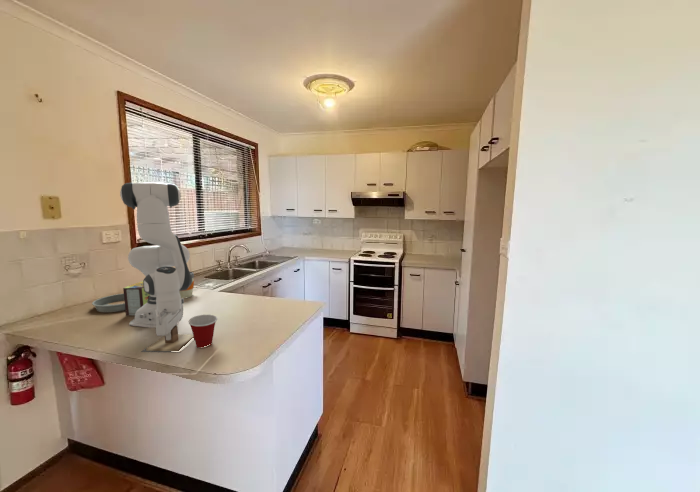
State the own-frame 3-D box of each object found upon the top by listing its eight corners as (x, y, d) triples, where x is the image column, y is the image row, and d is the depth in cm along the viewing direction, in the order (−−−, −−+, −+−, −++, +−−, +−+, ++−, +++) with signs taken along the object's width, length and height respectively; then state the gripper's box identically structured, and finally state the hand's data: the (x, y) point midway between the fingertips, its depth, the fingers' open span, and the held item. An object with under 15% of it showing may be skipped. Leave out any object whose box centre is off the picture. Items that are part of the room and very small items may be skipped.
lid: (146, 350, 117) (144, 334, 116) (166, 336, 129) (165, 321, 128) (178, 351, 117) (176, 334, 116) (195, 336, 129) (194, 321, 128)
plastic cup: (202, 354, 115) (201, 325, 113) (184, 348, 119) (182, 321, 117) (224, 342, 125) (222, 316, 123) (206, 338, 129) (204, 312, 127)
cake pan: (153, 304, 173) (153, 296, 172) (102, 317, 152) (101, 308, 151) (135, 296, 186) (135, 290, 185) (86, 307, 165) (85, 300, 164)
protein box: (163, 306, 169) (161, 280, 166) (144, 316, 153) (141, 288, 151) (146, 305, 169) (143, 280, 167) (125, 315, 154) (122, 287, 151)
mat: (140, 352, 116) (140, 351, 116) (164, 336, 130) (164, 335, 130) (180, 353, 116) (180, 352, 116) (199, 336, 130) (199, 335, 130)
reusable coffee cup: (179, 300, 179) (177, 277, 177) (169, 296, 186) (167, 274, 183) (199, 295, 189) (197, 273, 187) (189, 292, 196) (187, 270, 194)
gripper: (167, 314, 111) (170, 347, 113) (185, 297, 131) (187, 326, 133) (149, 315, 110) (152, 349, 112) (169, 298, 130) (172, 327, 132)
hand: (171, 336), depth 123 cm, fingers closed on lid, 4 cm apart
